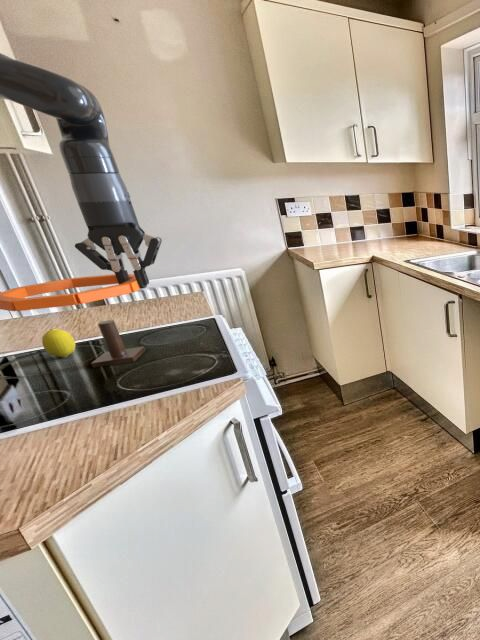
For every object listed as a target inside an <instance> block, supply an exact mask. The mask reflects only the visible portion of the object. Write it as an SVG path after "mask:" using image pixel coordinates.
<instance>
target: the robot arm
mask: <svg viewBox="0 0 480 640" xmlns="http://www.w3.org/2000/svg"><path fill="white" fill-rule="evenodd" d="M0 99H3V100H7V101H10V102H14V103H16V104H19V105H20V106H23V107H26V108H29V109H32V110H34V111H36V112H39V113H42V114H44V115H47V116H50V117H52V118H54V119H55V120H56V123H57V126H58V130H59V132H60V133H59V134H60V136H61V140H60V141H59V143H58V147H59V152H60V155H61V157H62V160H63V163H64V165H65V168H66V171H67V173H68V176H69V180H70V185H71V188H72V191H73V194H74V196H75V199H76V202H77V204H78V207H79V209H80V212H81V215H82V217H83V220H84V223H85V225H86V227H87V229H88V231H87V238H85V239H84V240H83V241H81V242H76V243H75V244H74V248H75V249H76V250H77V251H79V252H80V253H81V254H82V255H83V256H85V257H86V258H87V259H88V260H89V261H90V262H92V264H94V265H95V266H97V267H98V269H100V270H102V271H111V272H113V274H115V275H116V278H117V280H118V283H119V284H122V283H124V282H126V281H128V280H130V278H129V275H128V274H129V272H128V270H127V269H125V268H126V266H125V264H124V260H123V258H124V256H123V254H125V255H126V258H127V259H128V260H129V261H130V264H131V267H132V268H133V270H132V272H133V275H135V278H136V280H137V283H138V285H139V288H140V289H139V290H141V289H146V288H148V285H149V284H150V279H149V277H148V274H147V272H146V268H147V267H150V266H151V265H154V264H155V262H156V259H157V257H158V253H159V250H160V247H161V244H162V242H163V240H162V238H161V237H159V236H152V235H151V234H148V233H147V234H146V232H145V231H144V229H143V228H142V227H141V226H140V224H139V221H138V218H137V215H136V212H135V208H134V207H133V203H132V200H131V195H130V193H129V191H128V188H127V186H126V183H125V181H124V180H123V177H122V176H121V173H120V171H119V167H118V164H117V161H116V159H115V156H114V153H113V151H112V149H111V146H110V138H109V133H108V127H107V122H106V118H105V114H104V111H103V108H102V106H101V104H100V102H99V100H98V98H97V97H96V95H95V94H94V93H93V92H92V91H90V90H89V89H88V88H87V87H85V86H84V85H82V84H80V83H78V82H76V81H74V80H73V79H71V78H68V77H66V76H64V75H62V74H58V73H56V72H53V71H51V70H47V69H45V68H42V67H40V66H39V67H38V66H36V65H32V64H30V63H26V62H23V61H20V60H17V59H14V58H12V57H10V56H7V55H5V54H4V53H1V52H0ZM143 241H144V244H145V246H146V247H147V249H146V252H145V255H144V258H142V253H141V250H140V247H141V245H142V243H143ZM97 246H98V247H99V248H100V249H102V250H103V251H105V253H106V257H107V258H106V257H105V256H104V255H102V254H101V253H100V252H99V251H98V250H97ZM119 284H118V285H119Z"/></svg>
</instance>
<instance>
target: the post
mask: <svg viewBox="0 0 480 640" xmlns="http://www.w3.org/2000/svg"><path fill="white" fill-rule="evenodd" d="M97 326H98V328H99V331H100V333H101V335H102V338H103V340H104V343H105V345H106V348H107V350H108V351H105V352H104V353H102V354H101V355H99V356H98V357H97V358H96V359H95V360H93V361H92V362H91V363H90V364H91V366H92V368H93V369H94V368H101V367H107V366H114V365H121V364H127V363H132V362H133V363H134V362H135V361H137V360H138V359H139V358H140V357H141V356H142V355H143V354H144V353H145V352H146V347H145V346H138V347H131V348H130V347H129V348H125V344H124V342H123V340H122V337H121V334H120V332H119V329H118V328H117V325H116V321H115V320H114V319H110V320H103V321H100V322H98V323H97Z"/></svg>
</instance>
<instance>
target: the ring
mask: <svg viewBox="0 0 480 640" xmlns="http://www.w3.org/2000/svg"><path fill="white" fill-rule="evenodd" d="M128 275H129V278H130V280H128V281H126V282H124V283H122V284H119V283H118V280H117V278H116V275H115V273H112V274H101V275H89V276H80V277H72V278H65V279H64V278H63V279H57V280H52V281H47V282H42V283H41V282H40V283H35V284H28V285H23V286H22V285H21V286H18V287H13V288H10V289H7V290H4V291H2V292H0V310H3V311H7V312H8V311H10V312H23V311H33V310H41V309H50V308H51V309H52V308H60V307H68V306H70V307H71V306H77V305H83V304H88V303H93V302H97V301H102V300H106V299H111V298H115V297H120V296H125V295H129V294H132V293H136V292H138V291H139V290H141V289H140V288H139V285H138V283H137V280H136V278H135V275H134V273H128ZM106 285H108V286H106ZM95 286H97V287H98V286H105V287H100V288H99V287H98V288H94V289H88V290H84V291H78V292H72V293H62V294H54V295H53V294H52V295H44V294H49V293H54V292H58V291H59V292H60V291H65V290H70V289H76V288H85V287H95ZM39 295H42V296H39ZM32 296H33V297H32Z"/></svg>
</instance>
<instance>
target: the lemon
mask: <svg viewBox="0 0 480 640" xmlns="http://www.w3.org/2000/svg"><path fill="white" fill-rule="evenodd" d="M41 343H42V347H43V349H44V350H45V352H46V353H47V354H49V355H51V356H53V357H57V358H58V357H60V358H63V359H65V358H68V357H69V356H70V355H71V354H72V353H74V351H75V349H76V341H75V339H74V337H73V336H72V335H71V334H70V333H69V332H67V331H66V330H63V329H57V328H50V329H49V330H48V331H46V332H45V333H44V334H43V335H42V337H41Z"/></svg>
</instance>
